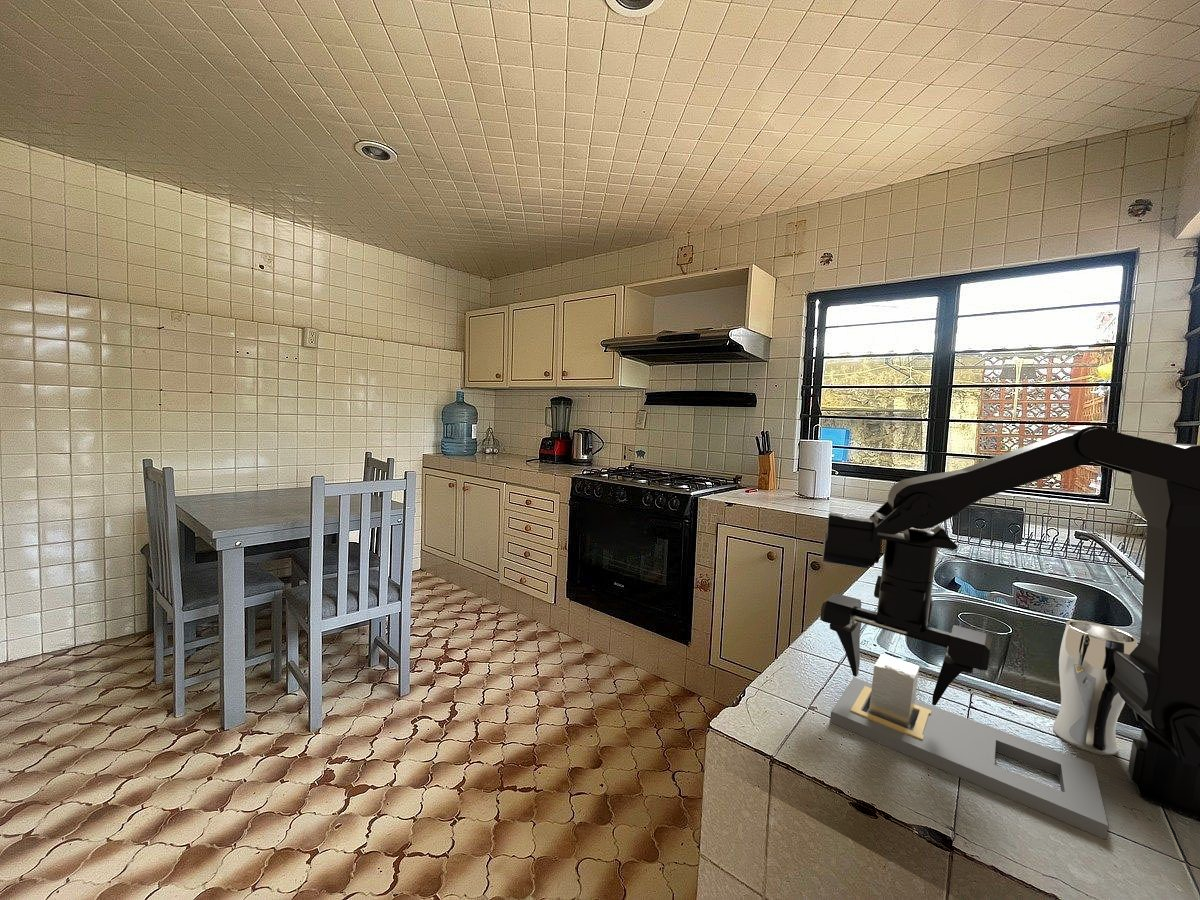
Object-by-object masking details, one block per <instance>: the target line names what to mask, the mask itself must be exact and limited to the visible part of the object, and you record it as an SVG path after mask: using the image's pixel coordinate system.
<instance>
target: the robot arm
mask: <svg viewBox="0 0 1200 900" xmlns="http://www.w3.org/2000/svg"><path fill="white" fill-rule="evenodd" d="M1089 463H1093V464H1095V465H1099V466H1101V467H1105V468H1107V469H1109V470H1110V469H1111V470H1113V471H1116V472H1120V473H1124V474H1126V475H1130V478H1131V484H1132V489H1133V494H1134V497H1135V499H1136V501H1137V504H1138V506H1139V507H1140V509H1141V512H1142V513H1143V516H1144V518H1145V520H1146V535H1145V536H1146V538H1145V539H1146V540H1145V552H1144V553H1145V554H1144V555H1145V556H1144V557H1145V558H1144V569H1143V571H1144V572H1143V573H1144V574H1143V587H1142V588H1143V591H1142V605H1141V606H1142V607H1141V625H1140V639H1139V641H1138V643H1137V647H1136V648H1135V649H1134V650H1133V651H1132V652H1131V653H1130V655H1129V654H1125V653H1121V652H1117V651H1115V652H1114V662H1115V673H1114V676H1113V677H1112V679H1111V680H1110V681H1111V683H1113V684H1114V685H1115V686H1116V687H1117V688H1118V691H1119V694H1120V696H1121V698H1122V699H1123V700H1124V701H1125V703H1126V704H1127V705H1128V706H1129V707H1130V708H1131V709H1132V710H1133V714H1134V717H1135V719H1136V721H1138V723H1140V724H1142V725H1143V726H1144V727H1142V728H1141V733H1140V739H1137V738H1134V739H1132V741H1131V742H1132V744H1131V749H1130V755H1129V762H1128V767H1127V771H1128V773H1129V777H1130V780H1131V782H1132V783H1134V784H1135V787H1136V790H1137V793H1138V796H1139V797H1140V798H1142V799H1144V800H1145V801H1149V802H1151V803H1153V804H1156V805H1159V806H1161V807H1164V808H1167V809H1169V810H1172V811H1174V812H1177V813H1180V814H1183V815H1185V816H1187V817H1191V818H1193V819H1196V820H1199V821H1200V444H1191V443H1190V444H1188V443H1172V442H1161V441H1155V440H1152V439H1149V438H1148V439H1147V438H1142V437H1138V436H1135V435H1134V436H1133V435H1129V434H1125V433H1122V432H1119V431H1115V430H1112V429H1110V428H1108V427H1105V426H1101V425H1100V426H1098V425H1076V426H1072V427H1069V428H1067V429H1065V430H1064V431H1062V432H1061V433H1058V434H1055V435H1053V436H1050V437H1047V438H1044V439H1041V440H1038V441H1036V442H1033V443H1030V444H1028V445H1024V446H1022V447H1019V448H1017V449H1014V450H1011V451H1009V452H1006V453H1002V454H1000V455H997V456H993V457H991V458H989V459H986V460H983V461H980V462H977V463H975V464H972V465H969V466H966V467H964V468H961V469H956V470H951V471H944V472H938V473H937V472H936V473H930V474H925V475H919V476H915V477H914V476H913V477H909V478H904V479H901V480H900V481H898V482H896V483H894V484H893V486H891V488H890V490H889V492H888V495H887V501H885V503H883V504H882V505H881V506H880V507H879V508H877V510H876V511H874V512H873V513H872V514H871V515H870V516H869V518H862V517H861V518H860V517H853V516H848V515H847V516H846V515H843V514H840V513H833V512H830V513H828V519H827V524H826V532H824V533H823V535H824V536H823V537H824V538H823V544H822V557H821V558H822V559H821V561H822V563H828V564H832V565H839V566H846V567H851V568H856V569H863V570H869V568H870V567H871V566H872V567H874V566H875V564H879V561H880V557H881V547H882V540H884V541H885V542H884V552H883V559H882V560H883V561H882V567H881V575H878V576H877V579H876V582H875V587H874V592H873V596H874V597H875V598H876V599H878V602H877V611H873V610H871V609H870V610H869V609H866V608H863V607H862V601H861V599H859V598H855V597H851V596H849V595H844V594H840V593H837V592H835V593H834V594H832V595H830V596H829V597H828V598H827V599H826V600H824V601H823V603H822V605H821V608H820V615H819V619H820V621H822V622H823V623H826V624H829V629H830V630H831V631H834V632H836V634H837V636H838V639H839V640H840V643H841V645H842V646H843V649H844V652H845V655H846V658H847V662H848V664H849V667H850V671H851V673H852V677H855V678H857V676H858V675H859V671H860V665H861V664H860V663H861V661H860V658H861V656H860V655H861V653H860V651H861V649H860V648H861V647H860V646H861V645H860V644H861V643H860V642H861V641H860V640H861V636H860V635H861V628H862V624H865V625H868V626H871V627H873V628H874V627H875V628H878V629H880V630H884V631H885V630H886V631H888V632H892V633H894V634H898V635H902V636H904V637H908V638H912V639H915V640H918V641H922V642H926V643H929V644H932V645H935V646H938V647H939V646H940V647H943V648H946V653H945V656H944V659H943V662H942V664H941V668H940V671H939V675H938V678H937V680H936V683H935V686H934V690H933V694H932V699H931V705H932V706H937V704H938V702H939V701H940V700H941V698H942V696H943V695H944V693H945V692H946V690H947V688H948V687H949V686H950V684H952V682H953V681H954V680H955V679H956V678H957V677H959V675H960V674H961V673H962V672H963V673H966V674H967V673H968V674H972V673H974V669H975V670H979V671H988V668H989V662H990V655H991V646H992V639H991V638H990V636H989V635H988V634H987V632H986V633H985V632H981V631H978V630H974V629H971V628H967V627H963V626H959V625H955V624H954V625H953V626H952V629H951V632H948V631H945V630H941V629H937V628H934V627H931V626H928V624H930V623H931V619H932V613H933V606H934V605H933V601H932V600H933V595H932V591H933V584H934V583H933V581H934V575H935V574H934V573H935V568H936V567H935V566H936V559H937V551H938V548H939V549H945V550H954V551H956V550H957V549H958V545H957V544H956V543H955V542H954V541H953V540H952V539H951V538H950V537H949V535H948V534H947V532H946V530H945V529H944V528H943V527H942V526H940V524H941V523H943V522H946V521H947V520H950V519H951V518H953V517H955V516H957V515H959V514H961V512H963V511H965V510H966V509H967V508H969V507H970V506H972V505H973V504H976V503H977V502H978V501H981V500H982V499H986V498H988V497H992V496H994V495H997V494H999V493H1004V492H1006V491H1010V490H1013V489H1015V488H1018V487H1021V486H1024V485H1027V484H1030V483H1033V482H1036V481H1039V480H1042V479H1045V478H1048V477H1052V476H1054V475H1057V474H1060V473H1063V472H1065V471H1068V470H1069V471H1070V470H1072V469H1075V468H1079V467H1081V466H1084V465H1087V464H1089ZM934 527H935V528H934ZM931 528H933V529H931ZM926 529H930V530H926Z"/></svg>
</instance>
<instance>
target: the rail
mask: <svg viewBox="0 0 1200 900" xmlns="http://www.w3.org/2000/svg"><path fill="white" fill-rule="evenodd" d="M871 690H872V682H868V681H865V680H863V679H861V678H857V677H855V676H852V679H851V680H850V681H849V683H848V685H847V687H845V689H844V691H843V693H842V694H841V696H840V697H839V699H838V700H837V702H836V703H835V704H834V706H833V708H832V709H831V711H830V717H829V718H830V719H829V723H831V724H833V725H837V726H838V727H841V728H843V729H845V730H848V731H851V732H852V733H855V734H857V735H860V736H862V737H865V738H866V739H869V740H871V741H873V742H876V743H879V744H880V745H884V746H885V747H887V748H890V749H892V750H895V751H897V752H899V753H902V754H904V755H907V756H909V757H910V758H913V759H916V760H918V761H920V762H922V763H925V764H928V765H930V766H931V767H935V768H937V769H940V770H942V771H943V772H946V773H949V774H952V775H954V776H955V777H957V778H960V779H962V780H965V781H967V782H970V783H972V784H974V785H977V786H979V787H982V788H984V789H986V790H988V791H991V792H993V793H995V794H998V795H1000V796H1003V797H1005V798H1007V799H1010V800H1012V801H1015V802H1017V803H1019V804H1021V805H1024V806H1026V807H1028V808H1031V809H1034V810H1036V811H1038V812H1041V814H1044V815H1047V816H1049V817H1052V818H1054V819H1056V820H1059V821H1061V822H1063V823H1066V824H1067V825H1070V826H1073V827H1076V828H1077V829H1080V830H1083V831H1085V832H1088V833H1089V834H1092V835H1094V836H1096V837H1099V838H1102V839H1103V840H1107V835H1108V829H1109V824H1108V820H1107V815H1106V811H1105V806H1104V803H1103V798H1102V794H1101V793H1102V792H1101V790H1100V785H1099V781H1098V778H1097V773H1096V769H1095V764H1094V763H1092V762H1089V761H1086V760H1085V759H1084V760H1083V759H1081V758H1079V757H1075V756H1072V755H1070V754H1067V753H1064V752H1061V751H1058V750H1056V749H1053V748H1050V747H1048V746H1045V745H1042V744H1039V743H1036V742H1034V741H1031V740H1028V739H1026V738H1022V737H1020V736H1019V735H1018V736H1017V735H1014V734H1011V733H1009V732H1006V731H1003V730H1001V729H997V728H996V727H993V726H989V725H987V724H984V723H982V722H978V721H976V720H973V719H971V718H967V717H965V716H962V715H961V714H960V715H959V714H957V713H954V712H952V711H951V712H950V711H949V710H945V709H942V708H939V707H937V706H936V705H932V704H929V703H926V702H924V701H920V700H917V699H915V705H914V713H913V721H915V723H914V727H913V729H910V730H909V729H907V728H904V727H902V726H899V725H897V724H894V723H892V722H889V721H887V720H884V719H882V718H879V717H877V716H874V715H872V714H869V712H867V710H868V709H869V707H870V698H871ZM996 753H998V754H1001V755H1003V756H1005V757H1008V758H1011V759H1013V760H1016V761H1019V762H1021V763H1025V764H1026V765H1029V766H1032V767H1034V768H1037V769H1040V770H1043V771H1044V772H1047V773H1049V774H1052V775H1054V776H1058V777H1059V778H1058V779H1059V786H1060V787H1059V788H1060V789H1057V788H1054V787H1051V786H1050V785H1046V784H1045V783H1042V782H1039V781H1036V780H1034V779H1032V778H1030V777H1026V776H1024V775H1021V774H1019V773H1017V772H1014V771H1012V770H1009V769H1008V768H1004V767H1002V766H999V765H996V764H995V761H996Z"/></svg>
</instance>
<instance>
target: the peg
mask: <svg viewBox="0 0 1200 900" xmlns="http://www.w3.org/2000/svg"><path fill="white" fill-rule="evenodd" d="M919 673H920V666H919V665H916V664H913V663H910V662H907V661H904V660H901V659H897V658H894V657H892V656H889V655H885V654H880V655H879V657H878V659H877V660H876V662H875V663H874V666H873V676H872V682H871V684H872V690H871V698H870V705H869V706H868V713H869V714H872V715H874V716H877V717H879V718H882V719H884V720H887V721H889V722H892V723H894V724H897V725H899V726H902V727H904V728H907V729H909V730H911V727H912V724H913V721H914V720H913V713H914V705H915V700H916V696H917V688H918V680H919Z"/></svg>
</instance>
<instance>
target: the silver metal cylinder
mask: <svg viewBox="0 0 1200 900" xmlns="http://www.w3.org/2000/svg"><path fill="white" fill-rule="evenodd" d="M1064 629H1065V630H1064V632H1063V636H1062V640H1061V644H1060V648H1059V649H1060V650H1059V658H1058V674H1059V686H1060V687H1059V688H1060V706H1059V710H1058V713H1057V716H1056V719H1055V720H1054V723H1053V725H1052V730H1053V731H1054V733H1055V734H1056V735H1057V736H1058V737H1059V739H1060V738H1061V739H1062V740H1064V742H1066V743H1068V744H1070V745H1072V746H1074V747H1075V748H1078V749H1079V750H1083V751H1086V752H1088V753H1091V754H1095V755H1100V756H1114V755H1116V754H1117V751H1118V747H1117V746H1118V745H1117V738H1116V737H1117V736H1116V728H1117V723H1118V720H1119V719H1118V718H1119V716H1120V714H1121V712H1122V710H1123V708H1124V706H1125V703H1126V702H1125V701H1124V700H1123V699H1122V698H1121V696H1120V694H1119V691H1118V688H1117V687H1116V686H1115V685H1114V684H1113V683H1111V681H1110V680H1111V679H1112V677H1113V676H1114V673H1115V662H1114V652H1115V651H1117V652H1121V653H1125V654H1129V655H1130V653H1131V652H1132V651H1133V650H1134V649H1135V648H1136V647H1137V646H1138V643H1139V641H1138V639H1137V638H1136V636H1134V635H1132V634H1130V633H1128V632H1126V631H1124V630H1121V629H1117V628H1115V627H1112V626H1109V625H1106V624H1102V623H1101V624H1100V623H1097V622H1094V621H1092V622H1091V621H1087V620H1081V619H1070V620H1067V621H1066V624H1065V627H1064Z"/></svg>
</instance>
